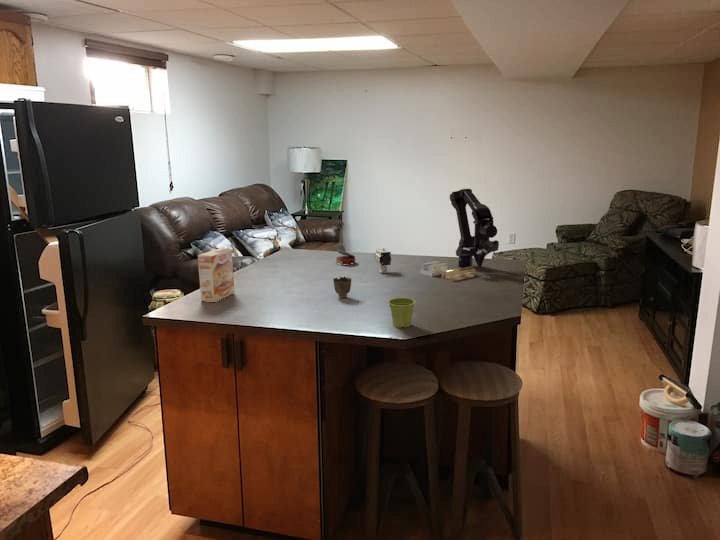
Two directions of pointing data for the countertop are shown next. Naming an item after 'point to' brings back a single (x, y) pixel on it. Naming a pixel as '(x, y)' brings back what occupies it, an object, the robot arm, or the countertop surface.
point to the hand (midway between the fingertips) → (479, 267)
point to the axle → (458, 272)
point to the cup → (342, 286)
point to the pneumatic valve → (383, 259)
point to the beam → (460, 276)
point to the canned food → (345, 257)
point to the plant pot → (401, 311)
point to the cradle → (433, 268)
